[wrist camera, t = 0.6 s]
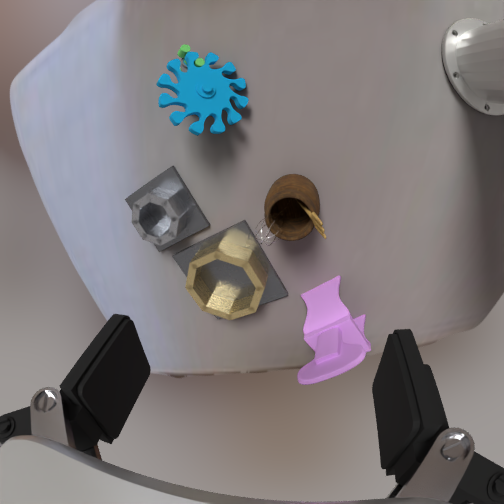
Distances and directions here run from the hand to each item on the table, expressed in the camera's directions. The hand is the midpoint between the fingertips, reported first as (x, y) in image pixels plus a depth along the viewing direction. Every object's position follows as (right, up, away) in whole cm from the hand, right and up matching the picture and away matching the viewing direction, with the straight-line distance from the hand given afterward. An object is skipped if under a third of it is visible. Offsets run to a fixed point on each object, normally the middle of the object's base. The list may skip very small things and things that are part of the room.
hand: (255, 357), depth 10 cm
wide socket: (-3, +1, +32) cm, 32 cm away
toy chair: (+12, -4, +31) cm, 34 cm away
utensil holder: (+5, +10, +25) cm, 28 cm away
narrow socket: (-12, +9, +29) cm, 33 cm away
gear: (-5, +23, +21) cm, 31 cm away
